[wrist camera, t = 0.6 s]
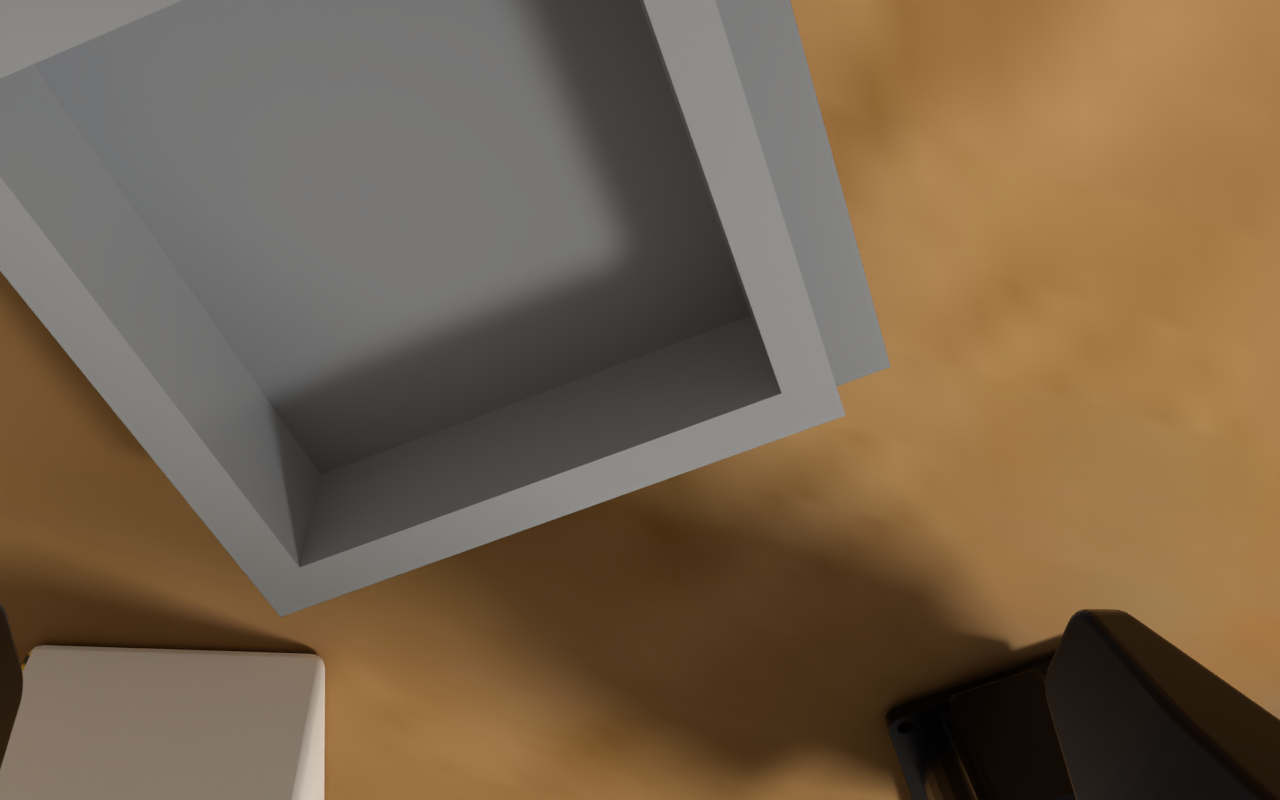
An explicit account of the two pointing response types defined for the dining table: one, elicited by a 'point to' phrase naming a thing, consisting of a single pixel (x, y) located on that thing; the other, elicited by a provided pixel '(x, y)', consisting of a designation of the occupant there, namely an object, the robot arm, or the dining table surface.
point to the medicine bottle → (167, 726)
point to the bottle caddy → (427, 256)
